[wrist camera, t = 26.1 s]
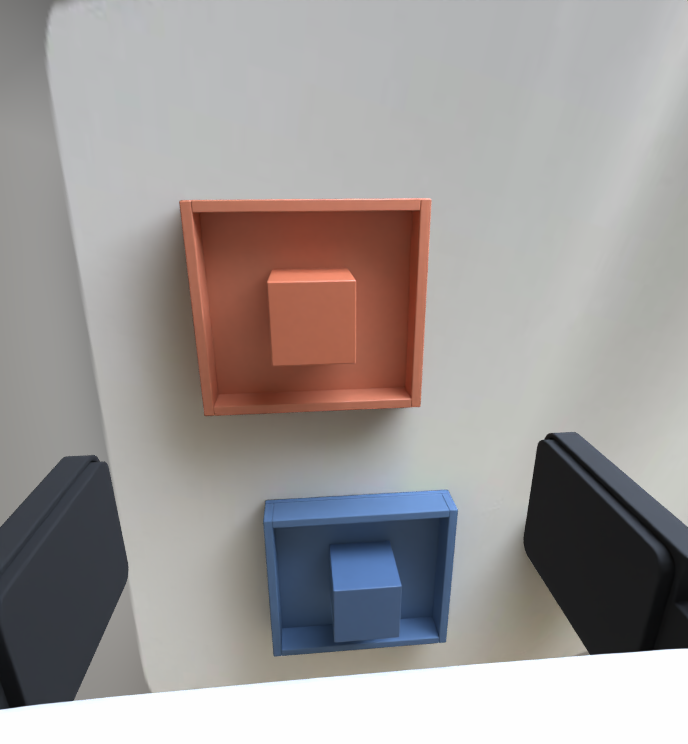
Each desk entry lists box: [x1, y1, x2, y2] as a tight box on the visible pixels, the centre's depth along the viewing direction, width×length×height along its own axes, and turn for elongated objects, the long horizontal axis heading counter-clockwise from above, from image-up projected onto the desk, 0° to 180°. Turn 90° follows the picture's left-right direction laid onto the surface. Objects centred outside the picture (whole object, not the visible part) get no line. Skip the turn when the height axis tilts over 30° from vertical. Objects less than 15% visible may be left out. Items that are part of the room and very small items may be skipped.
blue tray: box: [263, 490, 458, 656], centre depth 35 cm, size 13×12×2 cm
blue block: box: [329, 541, 402, 642], centre depth 34 cm, size 4×4×4 cm
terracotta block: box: [267, 268, 356, 366], centre depth 27 cm, size 4×4×4 cm
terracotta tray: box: [179, 198, 431, 416], centre depth 28 cm, size 13×12×2 cm
